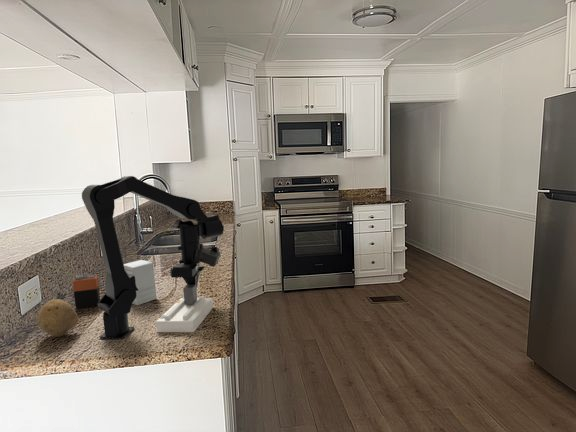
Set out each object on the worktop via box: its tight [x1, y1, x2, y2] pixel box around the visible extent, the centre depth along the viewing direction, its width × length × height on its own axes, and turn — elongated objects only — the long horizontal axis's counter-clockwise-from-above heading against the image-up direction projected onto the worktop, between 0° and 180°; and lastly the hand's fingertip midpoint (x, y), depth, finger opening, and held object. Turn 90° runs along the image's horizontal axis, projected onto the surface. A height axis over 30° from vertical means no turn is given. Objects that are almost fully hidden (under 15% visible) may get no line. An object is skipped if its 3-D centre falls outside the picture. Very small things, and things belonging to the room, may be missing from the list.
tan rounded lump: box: [36, 298, 79, 338], centre depth 107 cm, size 9×9×10 cm
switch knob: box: [182, 284, 198, 305], centre depth 119 cm, size 3×3×5 cm
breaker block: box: [155, 295, 214, 333], centre depth 115 cm, size 18×10×4 cm, turn 174°
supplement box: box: [123, 259, 158, 306], centre depth 133 cm, size 7×7×13 cm
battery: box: [72, 274, 101, 309], centre depth 131 cm, size 4×7×10 cm, turn 108°
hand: (194, 292), depth 122 cm, fingers closed
